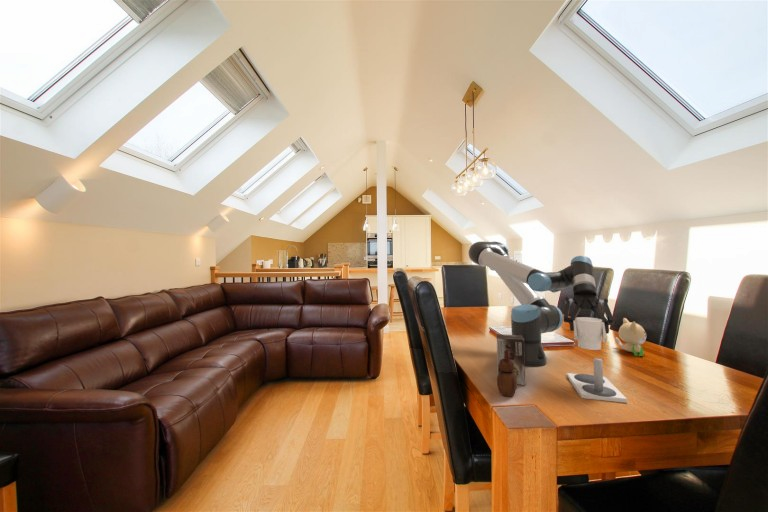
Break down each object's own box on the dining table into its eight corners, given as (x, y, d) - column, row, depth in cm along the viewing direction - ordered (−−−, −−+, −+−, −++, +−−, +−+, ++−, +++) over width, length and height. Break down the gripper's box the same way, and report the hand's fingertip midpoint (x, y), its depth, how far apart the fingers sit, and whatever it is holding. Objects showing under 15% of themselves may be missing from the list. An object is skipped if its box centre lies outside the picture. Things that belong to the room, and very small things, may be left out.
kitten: (655, 358, 135) (654, 323, 135) (628, 356, 138) (627, 322, 138) (638, 348, 149) (637, 317, 150) (613, 347, 152) (612, 316, 152)
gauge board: (581, 397, 98) (580, 362, 98) (566, 376, 116) (566, 346, 116) (627, 402, 94) (626, 365, 94) (604, 379, 112) (603, 348, 112)
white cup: (608, 350, 105) (607, 321, 106) (585, 350, 106) (584, 321, 106) (593, 344, 113) (592, 316, 113) (571, 344, 113) (570, 317, 114)
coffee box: (524, 379, 114) (523, 335, 114) (525, 386, 107) (524, 339, 108) (497, 376, 117) (496, 333, 117) (497, 383, 110) (496, 337, 111)
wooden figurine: (514, 400, 97) (513, 351, 97) (495, 396, 100) (494, 349, 100) (518, 392, 103) (517, 346, 103) (500, 388, 106) (499, 344, 106)
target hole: (578, 382, 107) (578, 382, 107) (571, 373, 115) (571, 372, 115) (608, 385, 104) (608, 384, 104) (599, 375, 112) (599, 375, 112)
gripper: (615, 295, 118) (626, 348, 104) (554, 293, 128) (556, 342, 114) (617, 282, 114) (629, 336, 99) (554, 281, 124) (555, 330, 109)
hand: (590, 339), depth 107 cm, fingers closed on white cup, 8 cm apart
